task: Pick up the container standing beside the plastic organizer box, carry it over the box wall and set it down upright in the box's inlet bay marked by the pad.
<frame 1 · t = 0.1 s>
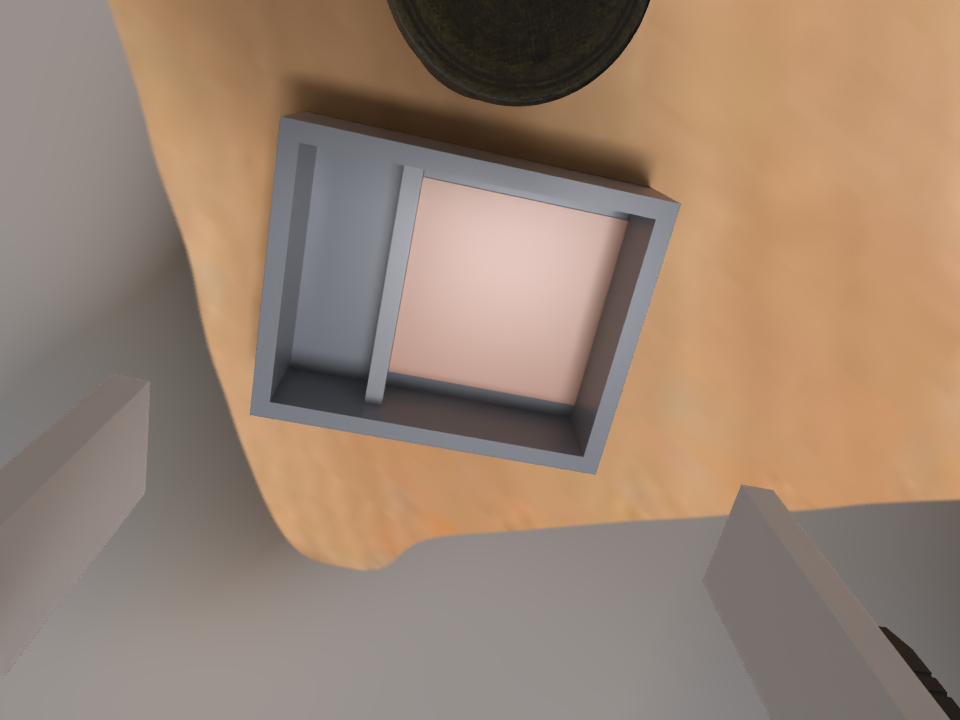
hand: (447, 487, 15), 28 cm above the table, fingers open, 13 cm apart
container: (491, 12, 37), on the table
walled box: (455, 284, 42), on the table
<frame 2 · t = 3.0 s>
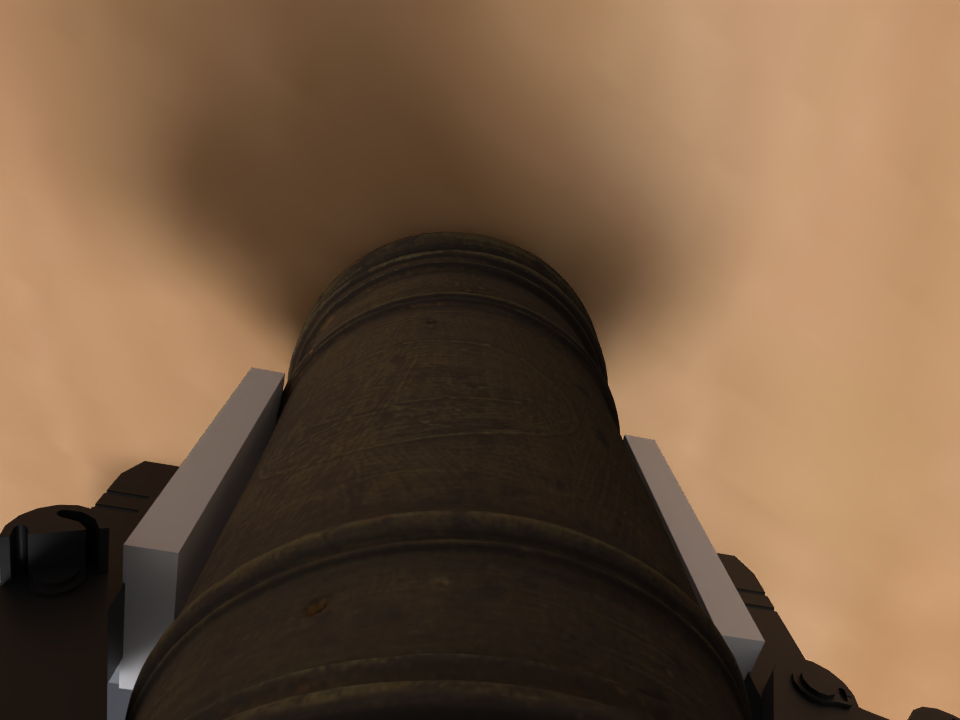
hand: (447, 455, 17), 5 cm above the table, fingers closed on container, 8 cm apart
container: (451, 367, 22), on the table, touching gripper
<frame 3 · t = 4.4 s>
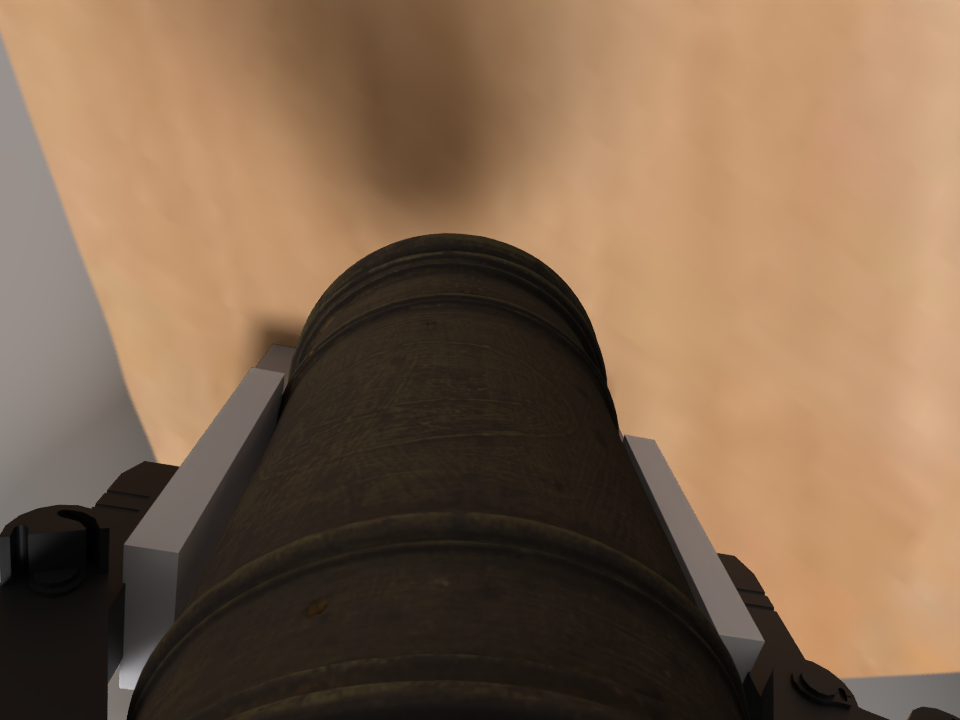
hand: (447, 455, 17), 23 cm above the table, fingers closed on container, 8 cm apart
container: (451, 368, 22), point 17 cm above the table, touching gripper
walled box: (420, 491, 44), on the table
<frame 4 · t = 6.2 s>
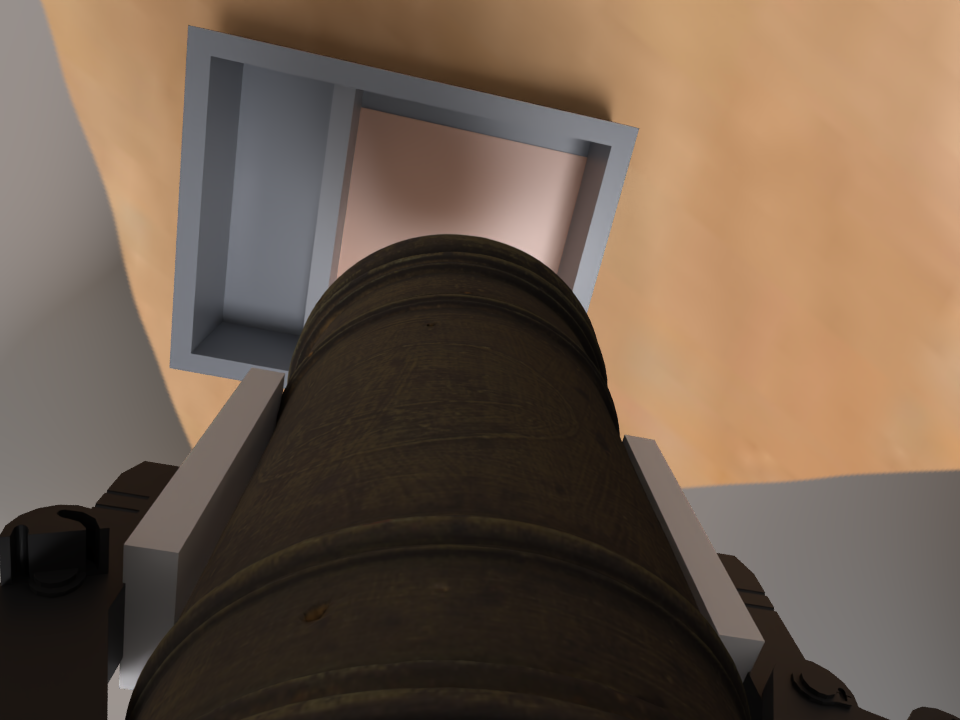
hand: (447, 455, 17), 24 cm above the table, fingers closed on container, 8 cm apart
container: (451, 369, 22), point 19 cm above the table, touching gripper
walled box: (401, 230, 39), on the table
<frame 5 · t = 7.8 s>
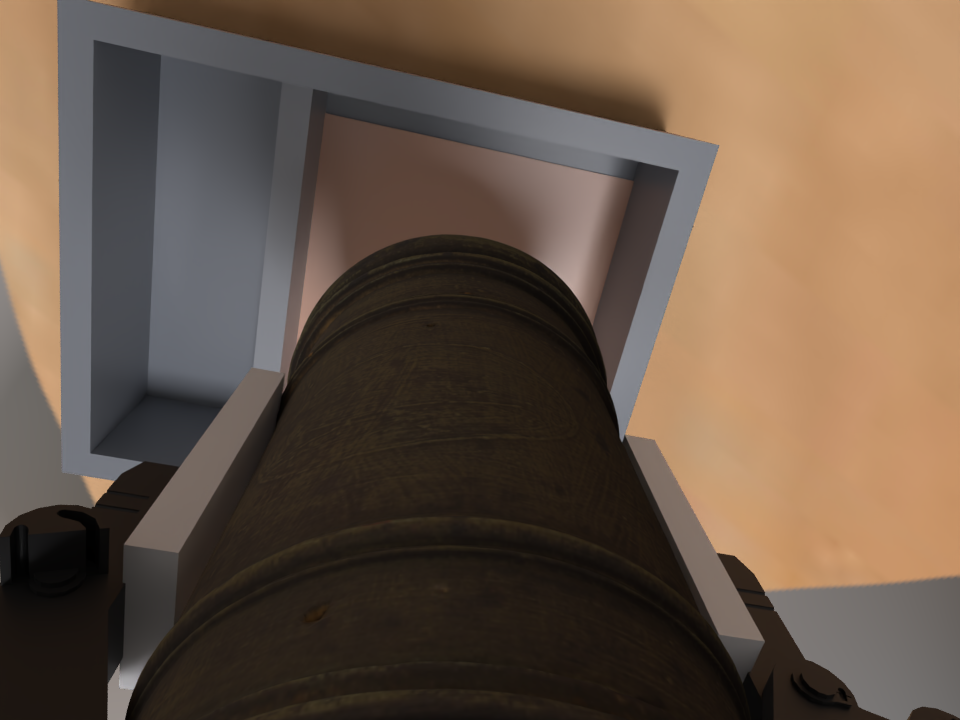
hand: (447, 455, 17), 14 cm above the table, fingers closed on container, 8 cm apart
container: (451, 369, 22), point 8 cm above the table, touching gripper
walled box: (382, 275, 29), on the table
when the fingers open (8 cm above the table, at t = 9.4 s): container drops 2 cm, resting on walled box.
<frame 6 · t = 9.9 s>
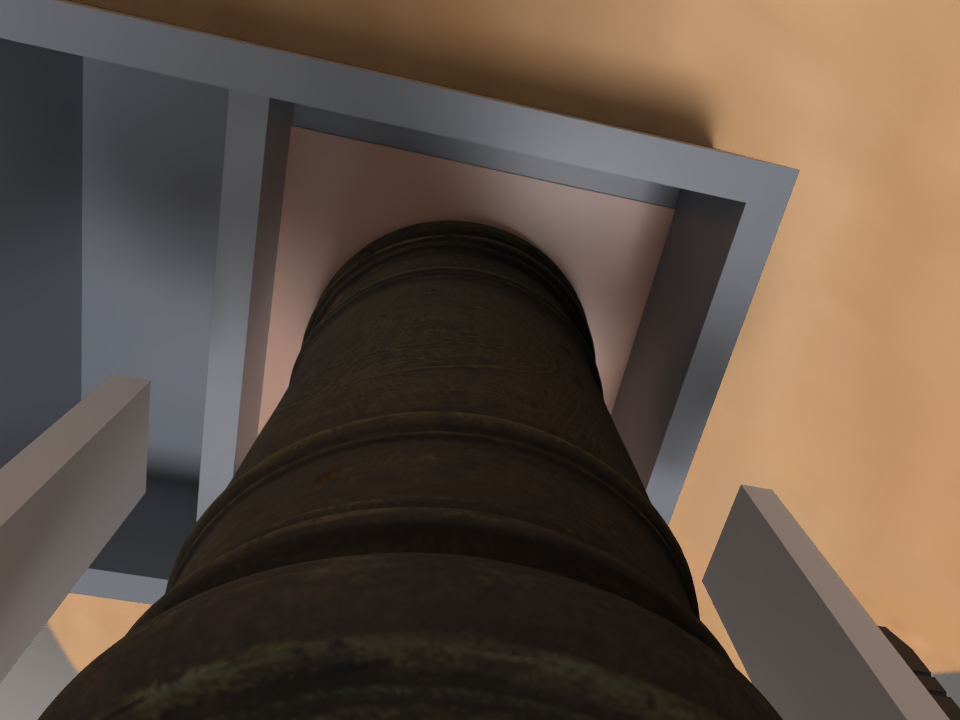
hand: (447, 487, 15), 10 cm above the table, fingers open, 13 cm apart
container: (452, 348, 23), point 1 cm above the table, touching walled box
walled box: (366, 321, 24), on the table
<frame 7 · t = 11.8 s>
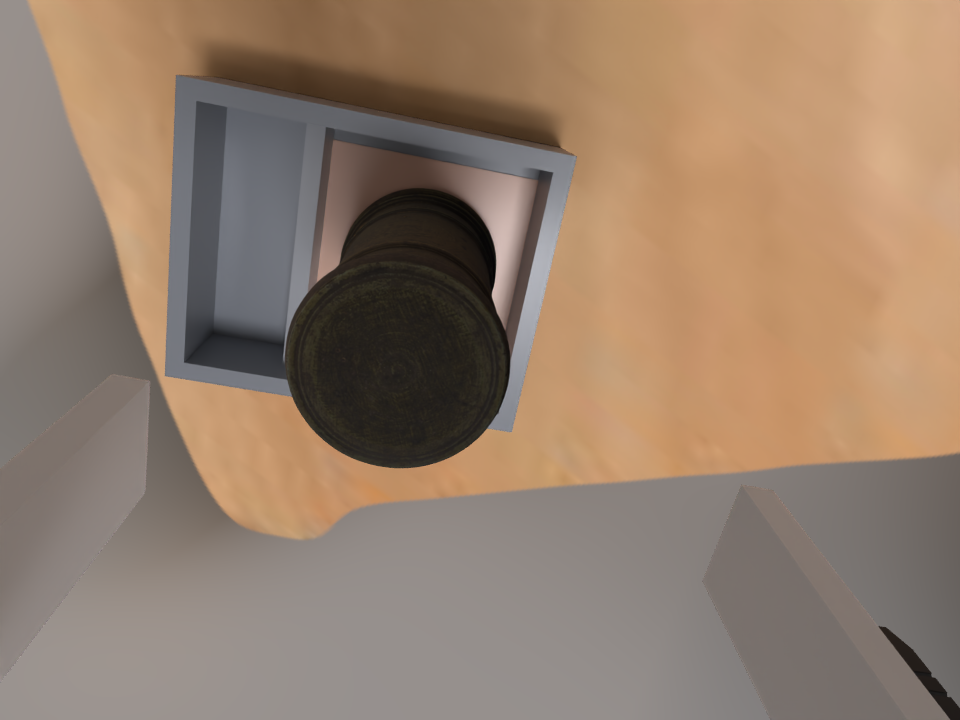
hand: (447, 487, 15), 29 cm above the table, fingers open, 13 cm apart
container: (421, 260, 42), point 1 cm above the table, touching walled box
walled box: (373, 248, 43), on the table
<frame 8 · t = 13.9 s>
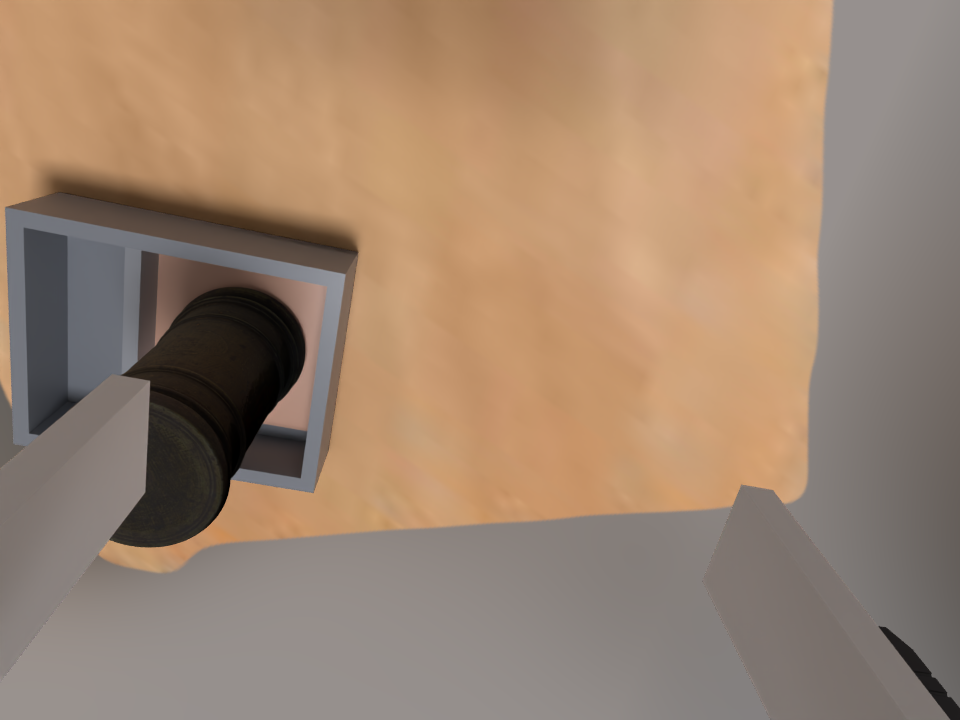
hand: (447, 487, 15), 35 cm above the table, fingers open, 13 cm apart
container: (243, 344, 50), point 1 cm above the table, touching walled box
walled box: (204, 331, 50), on the table
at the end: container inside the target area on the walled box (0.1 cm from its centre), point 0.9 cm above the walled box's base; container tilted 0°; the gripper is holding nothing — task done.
